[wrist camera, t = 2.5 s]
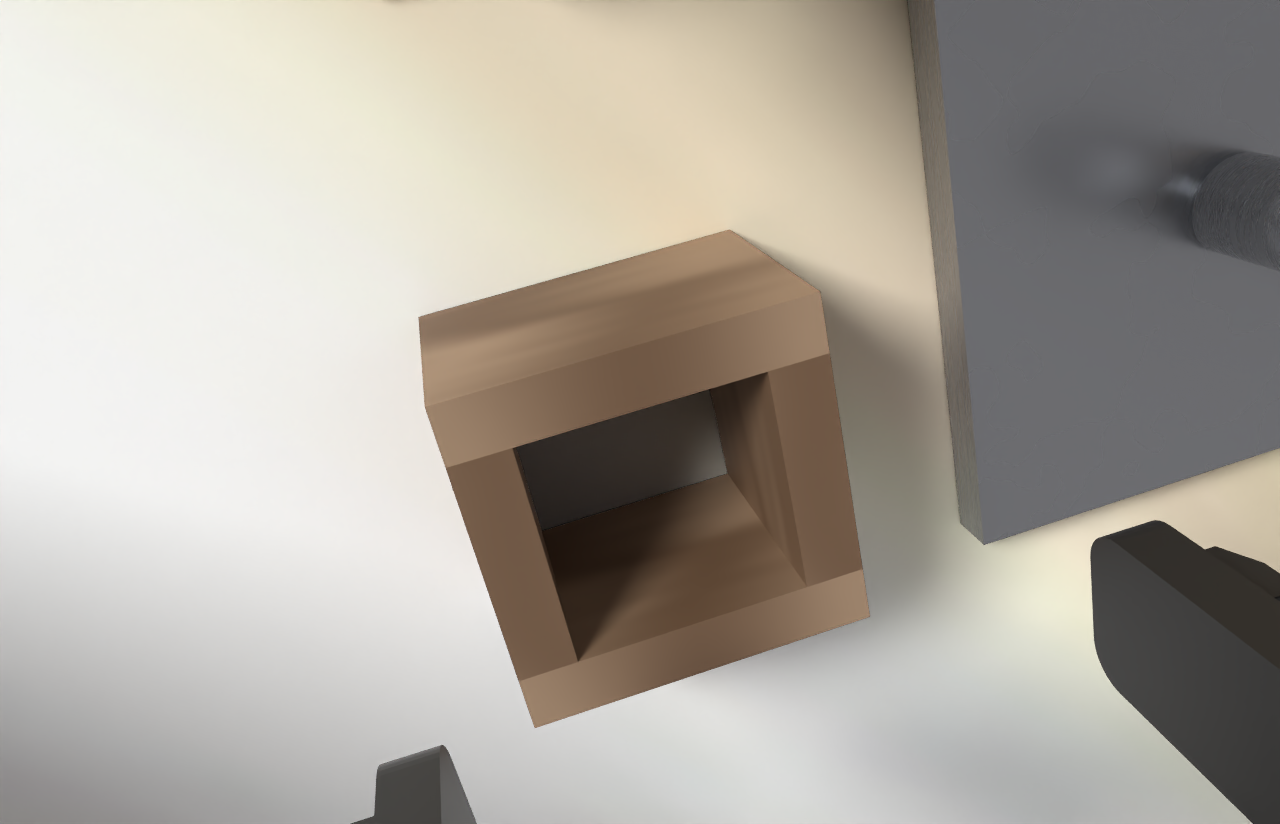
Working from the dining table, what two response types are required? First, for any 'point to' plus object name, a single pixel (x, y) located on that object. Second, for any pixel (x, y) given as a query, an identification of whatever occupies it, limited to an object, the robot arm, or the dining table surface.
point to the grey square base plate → (1101, 244)
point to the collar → (670, 522)
